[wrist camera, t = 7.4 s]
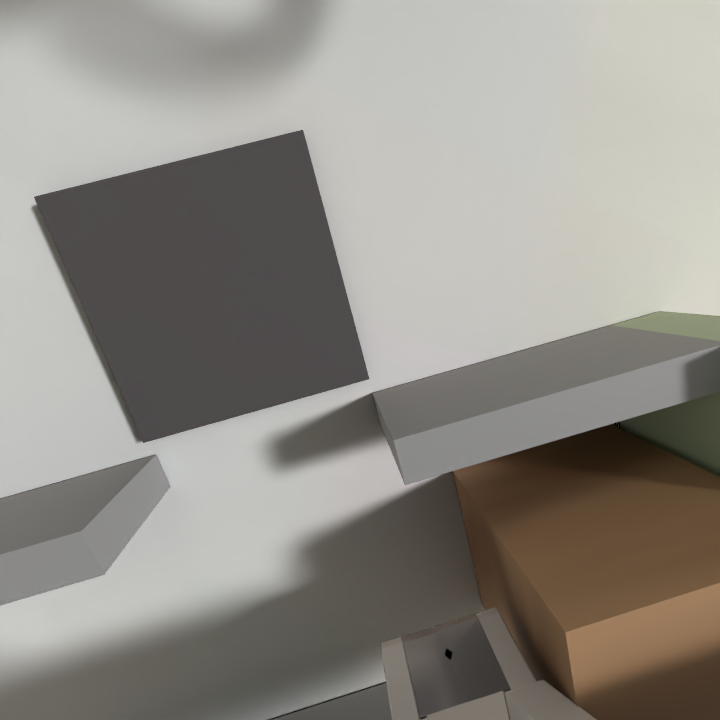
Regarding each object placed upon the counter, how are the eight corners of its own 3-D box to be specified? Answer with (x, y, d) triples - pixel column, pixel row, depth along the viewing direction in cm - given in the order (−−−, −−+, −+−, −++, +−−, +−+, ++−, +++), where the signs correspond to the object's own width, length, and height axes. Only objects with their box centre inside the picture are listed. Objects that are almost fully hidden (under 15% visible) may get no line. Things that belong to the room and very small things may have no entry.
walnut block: (452, 470, 10) (565, 633, 6) (609, 423, 11) (850, 540, 6) (481, 602, 12) (595, 832, 7) (623, 557, 12) (833, 749, 7)
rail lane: (-33, 508, 9) (-294, 672, 5) (660, 311, 10) (873, 328, 6) (135, 787, 12) (42, 1038, 8) (678, 611, 13) (837, 759, 9)
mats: (44, 200, 8) (34, 196, 8) (467, 94, 8) (472, 87, 8) (318, 825, 13) (318, 837, 13) (573, 739, 13) (579, 749, 13)
